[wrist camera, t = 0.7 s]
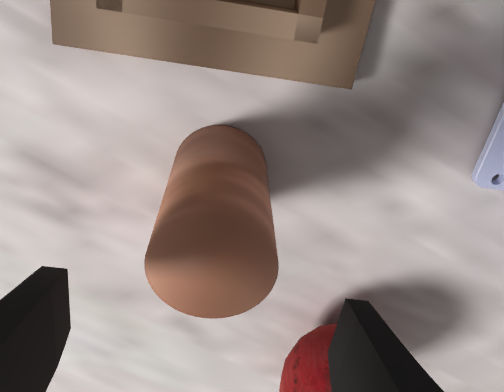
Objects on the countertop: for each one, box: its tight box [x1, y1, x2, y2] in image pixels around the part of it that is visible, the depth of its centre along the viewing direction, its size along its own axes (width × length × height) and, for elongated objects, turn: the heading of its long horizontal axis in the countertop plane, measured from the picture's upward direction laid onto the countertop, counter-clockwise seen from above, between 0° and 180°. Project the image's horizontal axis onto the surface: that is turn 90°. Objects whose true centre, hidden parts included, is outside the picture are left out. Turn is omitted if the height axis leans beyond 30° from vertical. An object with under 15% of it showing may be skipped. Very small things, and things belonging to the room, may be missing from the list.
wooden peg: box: [145, 125, 278, 318], centre depth 16 cm, size 4×4×7 cm
